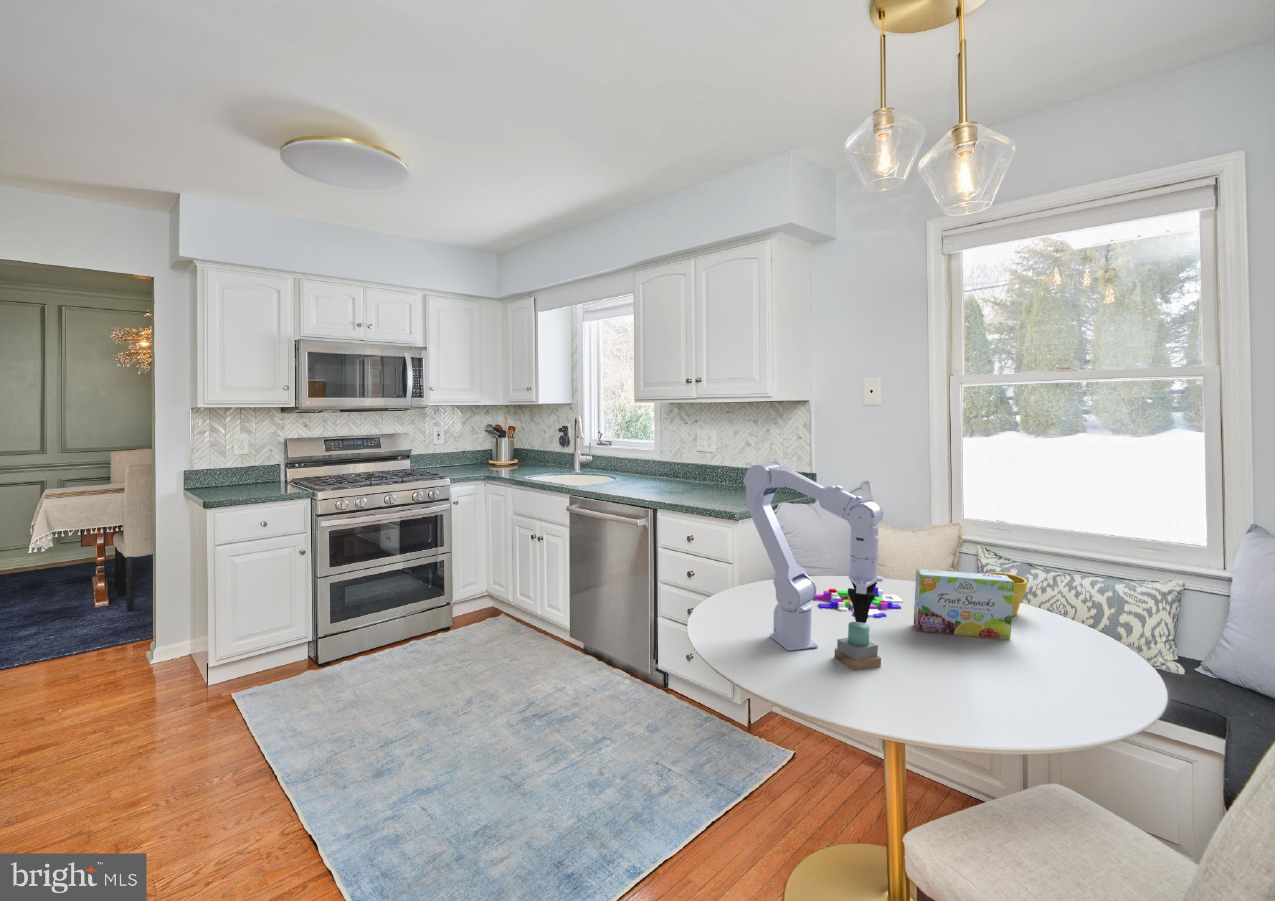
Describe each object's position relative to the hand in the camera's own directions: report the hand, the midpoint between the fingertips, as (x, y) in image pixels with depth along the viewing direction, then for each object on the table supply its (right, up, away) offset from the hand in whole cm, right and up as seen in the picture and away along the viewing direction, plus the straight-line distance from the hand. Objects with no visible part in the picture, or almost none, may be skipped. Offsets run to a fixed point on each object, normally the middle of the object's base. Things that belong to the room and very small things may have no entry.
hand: (861, 616), depth 137 cm
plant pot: (+51, -8, +32) cm, 61 cm away
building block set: (+14, -8, +38) cm, 42 cm away
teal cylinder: (-1, -6, 0) cm, 6 cm away
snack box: (+31, -9, +18) cm, 38 cm away
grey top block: (-1, -8, +1) cm, 8 cm away
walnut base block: (-1, -11, +1) cm, 11 cm away
